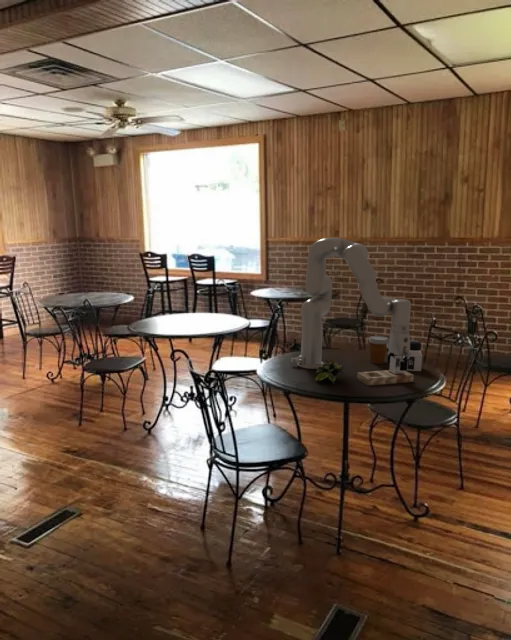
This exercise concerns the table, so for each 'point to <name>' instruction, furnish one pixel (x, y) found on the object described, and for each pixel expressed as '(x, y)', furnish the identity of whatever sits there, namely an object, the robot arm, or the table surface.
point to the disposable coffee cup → (378, 348)
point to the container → (415, 357)
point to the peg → (395, 365)
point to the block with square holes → (383, 377)
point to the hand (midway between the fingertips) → (396, 367)
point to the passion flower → (329, 370)
